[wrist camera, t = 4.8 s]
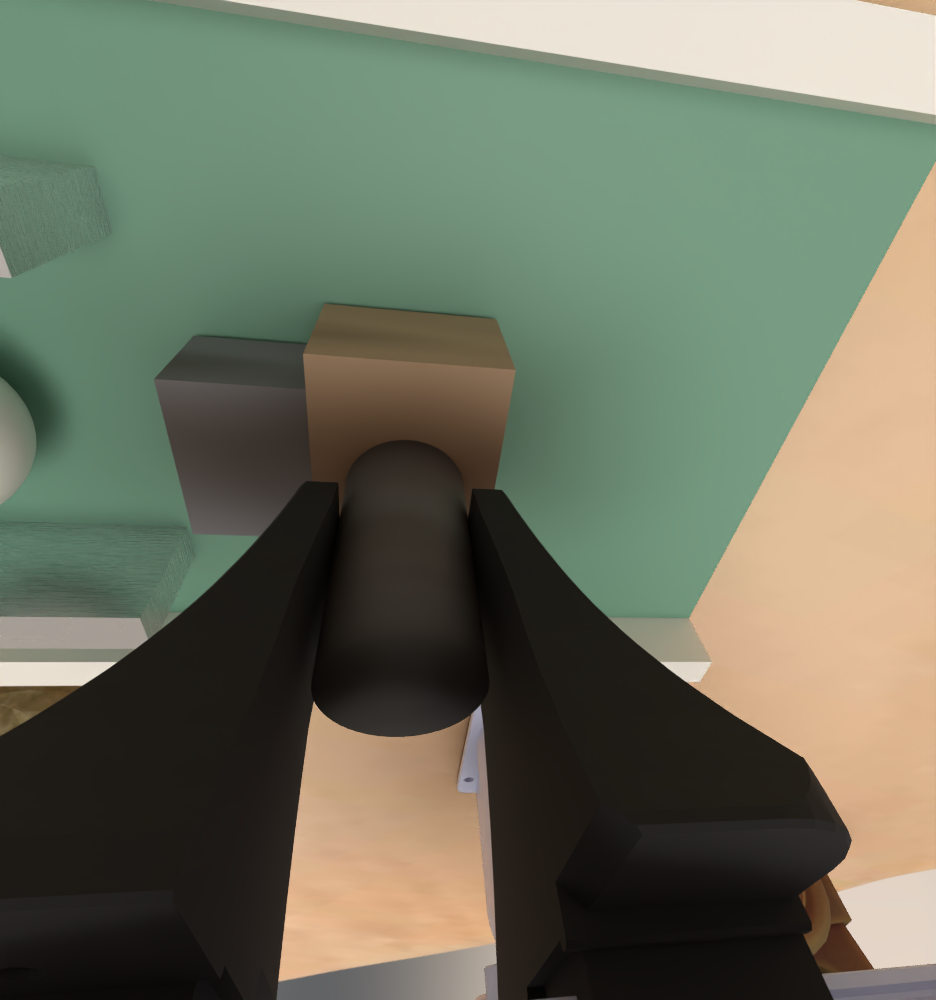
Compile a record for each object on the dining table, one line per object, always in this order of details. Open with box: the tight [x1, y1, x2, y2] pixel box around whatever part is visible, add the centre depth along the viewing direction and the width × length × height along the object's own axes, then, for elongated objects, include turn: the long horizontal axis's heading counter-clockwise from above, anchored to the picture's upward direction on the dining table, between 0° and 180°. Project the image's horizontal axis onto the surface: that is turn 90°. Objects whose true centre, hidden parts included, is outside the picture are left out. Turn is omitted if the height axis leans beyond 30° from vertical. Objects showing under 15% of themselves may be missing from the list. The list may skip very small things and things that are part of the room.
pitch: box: [0, 0, 936, 686], centre depth 14 cm, size 18×26×3 cm
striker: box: [154, 304, 516, 737], centre depth 11 cm, size 6×7×8 cm
